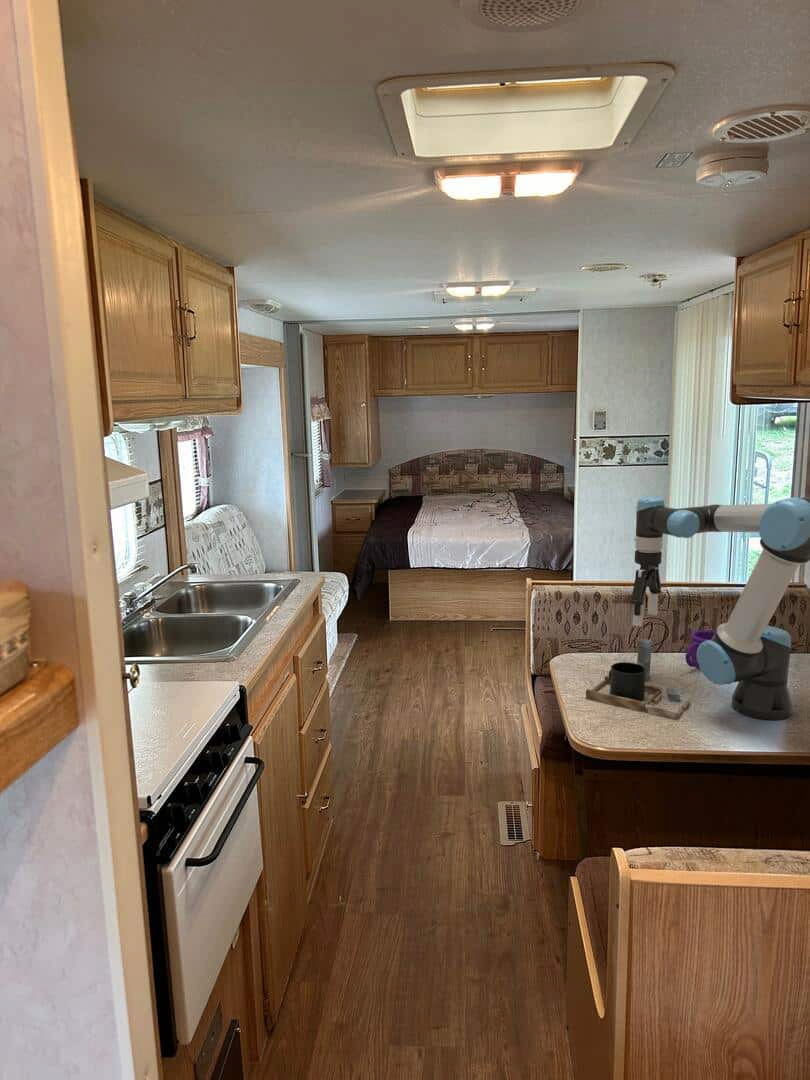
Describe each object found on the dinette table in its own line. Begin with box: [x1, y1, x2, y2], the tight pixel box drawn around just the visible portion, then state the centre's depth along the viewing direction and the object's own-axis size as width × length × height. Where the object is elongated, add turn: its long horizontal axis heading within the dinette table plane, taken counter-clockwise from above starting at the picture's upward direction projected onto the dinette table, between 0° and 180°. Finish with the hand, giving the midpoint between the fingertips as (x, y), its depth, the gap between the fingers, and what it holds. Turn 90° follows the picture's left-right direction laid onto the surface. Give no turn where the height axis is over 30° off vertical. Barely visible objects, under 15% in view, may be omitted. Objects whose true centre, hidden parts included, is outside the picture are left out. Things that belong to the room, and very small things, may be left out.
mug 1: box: [608, 661, 646, 702], centre depth 220 cm, size 9×12×9 cm
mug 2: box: [685, 629, 716, 668], centre depth 242 cm, size 17×11×10 cm, turn 125°
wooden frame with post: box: [585, 638, 662, 713], centre depth 224 cm, size 17×26×12 cm, turn 144°
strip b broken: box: [644, 687, 691, 721], centre depth 214 cm, size 9×17×2 cm, turn 144°
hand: (645, 620), depth 230 cm, fingers open, 13 cm apart
